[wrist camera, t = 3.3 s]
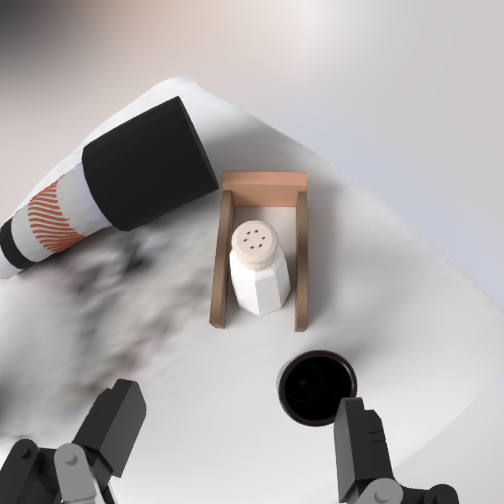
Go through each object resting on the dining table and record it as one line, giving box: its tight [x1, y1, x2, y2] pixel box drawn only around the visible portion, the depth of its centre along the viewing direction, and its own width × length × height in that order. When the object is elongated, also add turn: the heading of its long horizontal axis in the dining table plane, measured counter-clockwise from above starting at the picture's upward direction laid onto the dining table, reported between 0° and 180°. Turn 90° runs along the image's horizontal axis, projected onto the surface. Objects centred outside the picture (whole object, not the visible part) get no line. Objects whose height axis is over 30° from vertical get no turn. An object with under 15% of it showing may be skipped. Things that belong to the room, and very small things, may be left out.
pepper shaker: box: [230, 220, 291, 316], centre depth 24 cm, size 5×5×11 cm
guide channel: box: [209, 171, 308, 332], centre depth 28 cm, size 14×8×4 cm, turn 177°
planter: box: [276, 350, 357, 427], centre depth 20 cm, size 4×4×10 cm
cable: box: [0, 96, 219, 279], centre depth 29 cm, size 10×34×10 cm, turn 109°
